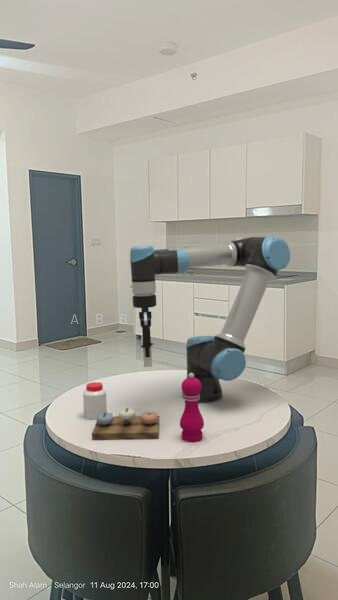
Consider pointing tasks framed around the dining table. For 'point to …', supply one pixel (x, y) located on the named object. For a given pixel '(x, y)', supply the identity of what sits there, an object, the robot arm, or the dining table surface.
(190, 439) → the pepper mill
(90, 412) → the pill bottle
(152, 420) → the button
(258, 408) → the dining table surface
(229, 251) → the robot arm
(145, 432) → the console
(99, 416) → the button
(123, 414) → the button
